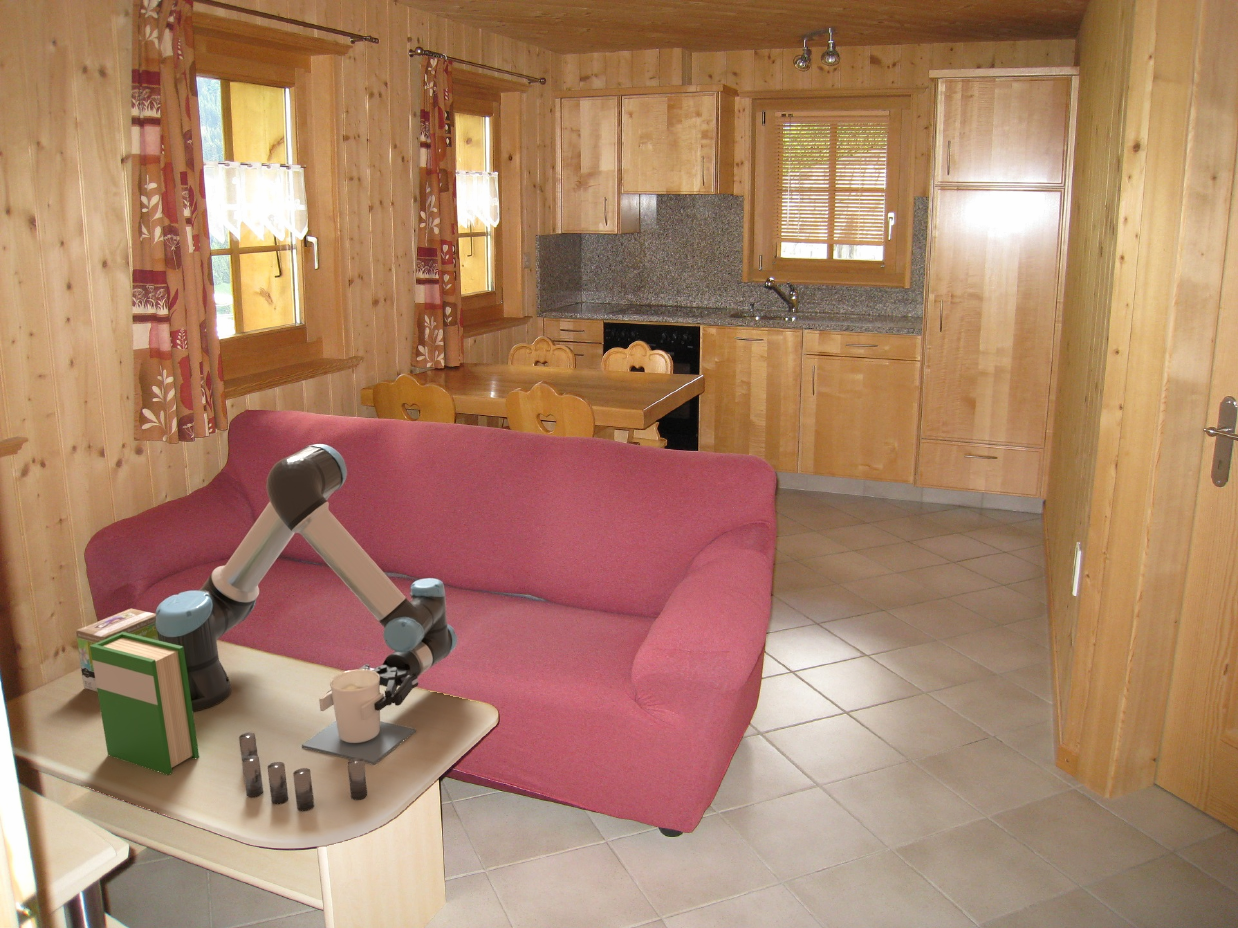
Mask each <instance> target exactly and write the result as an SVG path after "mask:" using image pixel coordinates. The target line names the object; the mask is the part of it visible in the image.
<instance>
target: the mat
mask: <svg viewBox="0 0 1238 928" xmlns="http://www.w3.org/2000/svg"><path fill="white" fill-rule="evenodd" d="M416 731H417V730H416V728H414V727H410V726H405V725H402V724H401V725H400V724H397V723H392V722H386V721H382V720H380V732H379V734H378V735H377V736H376V737H374V738H373V739H371V740H368V741H365V742H360V743H349V742H345V741H343V740H341V739H340V738H339V735H338V730H337V723H336V720H335V721H333V722H332V723H331V724H329V725H327V726H326V727H325V728H324V729H322V730H321V731H319V732H318V733H316V734H314V735H313V736H312V737H311V738H309V739H308V740H306V741H305V742H304V743H303V744H301V748H303V749H306V750H311V751H314V752H318V751H319V753H324V754H328V755H331V756H335V757H339V758H340V757H341V758H344V759H347V760H348V759H349V760H351V759H353V758H362V759H364V763H366V764H370V765H376V764H377V763H379V762H380V761H381V760H382V759H383V758H385V757H386V756H387V755H388V754H390V753H391V752H392V751H393V750H395V749H396V748H397V747H398V746H400V745H401V744H403V742H404V741H406V740H407V739H408V738H409V737H410V735H411V736H412V735H413V734H414V733H415V732H416ZM412 733H413V734H412ZM407 737H408V738H407ZM405 739H406V740H405ZM403 740H404V741H403ZM400 743H401V744H400ZM394 748H395V749H394Z"/></svg>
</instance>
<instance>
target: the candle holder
mask: <svg viewBox="0 0 1238 928" xmlns="http://www.w3.org/2000/svg"><path fill="white" fill-rule="evenodd" d="M329 685H330V690H331V691H332V697H333V704H334V705H333V709H334V714H335V715H334V716H335V721H336V723H337V730H338V735H339V738H340V739H341V740H343V741H345V742H349V743H360V742H365V741H368V740H371V739H373V738H374V737H376V736H377V735H378V734H379V732H380V721H381V710H379V711H377V712H375V713H374V714H373V715H371V716H370V717H369V718H367V719H366V720H362V718H361V708H360V707H362V706H363V705H364V704H366V703H367V702H369V701H370V700H371V699H373V698H375V697H376V696H377V695H378V694H380V693H381V687H380V686H381V685H380V676H379V674H378V673H377V672H375V671H372V670H366V669H360V668H358V669H351V670H346V671H343V672H340V673H339V674H336V675H334V676H333V677H332V679H331V680H330V681H329Z"/></svg>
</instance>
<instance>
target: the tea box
mask: <svg viewBox="0 0 1238 928" xmlns="http://www.w3.org/2000/svg"><path fill="white" fill-rule="evenodd" d="M75 632H76V633H75V634H76V641H77V648H78V649H77V650H78V656H79V664H80V668H81V669H80V671H81V678H82V684H83V688H84V689H87V690H91V691H93V692H97V686H96V680H95V674H94V667H93V661H92V655H91V649H90V646H91V645H93V644H95V643H98V642H100V641H103V640H105V639H107V638H110V637H112V636H114V635H117V634H119V633H121V632H126V633H130V634H134V635H138V636H142V637H146V638H150V639H154V640H158V641H159V639H158V632H157V629H156V613H153V612H149V611H144V610H140V609H136V608H128V609H126V610H123V611H121V612H118V613H116V614H113V615H111V616H108V617H106V618H104V619H101V620H99V621H98V620H97V621H95V622H93V623H91V624H89V625H86V626H83V627H80V628H78V629H76V630H75Z"/></svg>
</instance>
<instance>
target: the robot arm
mask: <svg viewBox="0 0 1238 928" xmlns="http://www.w3.org/2000/svg"><path fill="white" fill-rule="evenodd" d="M347 470H348V469H347V465H346V462H345V459H344V457H343V456H342V455H341V453H339V451H338V450H336V449H335V448H333V446H330V445H329V444H328V445H327V444H323V443H317V444H311V445H307V446H304V447H303V448H302V449H301V450H299V451H297V452H295V453H293V454H291V455H289V456H287V457H284V458H282V459H280V460H279V461H277V462H276V463H275V464H274V465H273V466H272V468H271V469H270V471H269V473H268V474H267V478H266V493H267V497H268V499H269V500H268V501H269V502H268V503H267V505H266V506H265V508H264V509H263V511H262V512H261V514H260V515H259V517H258V518H257V519H256V520H255V522H254V524H253V525H252V526H251V528H250V529H249V531H248V532H247V534H246V535H245V536H244V538H243V539H242V541H241V543H240V544H239V545H238V546H237V548H236V549H235V551H234V552H233V554H232V555H231V556H230V558H229V559H228V561H227V562H226V564H225V565H220V566H217V567H216V568H214V569H213V570H212V572H211V573H210V575H209V576H208V577H207V579H206V580H205V582H204V583H203V585H202V586H201V587H200V588H199V589H198V590H186V591H182V592H179V593H178V594H173V595H170V596H169V597H166V598H165V599H164V600H163V601H161V602H160V603H159V604H158V606H157V608H156V610H155V614H156V629H157V632H158V639H159V641H162V642H167V643H171V644H175V645H179V646H183V647H184V653H185V660H186V667H187V674H188V681H189V688H190V695H191V703H192V710H193V712H196V711H197V712H198V711H202V710H205V709H208V708H211V707H214V706H217V705H218V704H220V703H221V702H223V701H225V700H226V699H227V698H229V696H230V695H231V693H232V686H231V685H232V684H231V680H230V678H229V676H228V675H227V672H226V670H225V668H224V667H223V665H222V663H221V661H220V657H219V651H218V644H217V643H218V642H217V640H218V639H220V638H221V637H222V636H224V635H225V634H226V633H228V632H229V631H230V630H231V629H233V628H234V627H236V626H237V625H239V624H241V623H242V622H243V621H245V620H246V619H247V618H248V617H249V615H251V613H252V612H253V610H254V608H255V605H256V601H257V598H258V596H259V595H260V588H259V584H260V583H261V581H262V580H263V578H264V577H265V576H266V574H267V573H268V571H269V570H270V568H272V566H273V564H274V563H275V562H276V560H277V558H278V557H279V556H280V555H281V553H282V552H283V551H284V549H285V548H286V547H287V545H288V544H289V542H290V541H291V540H292V538H293V537H294V535H295V534H300V535H301V536H302V538H303V539H304V540H305V541H306V542H307V543H308V544H309V545H310V546H311V548H312V549H313V550H314V551H315V552H316V553H317V554H318V555H319V557H321V559H322V560H323V561H324V562H325V563H326V564H327V565H328V566H329V568H330V569H331V570H332V571H333V572H334V573H335V574H336V575H337V577H339V578H340V580H341V581H342V582H343V583H344V584H345V585H346V587H347V588H348V589H349V590H350V592H352V593H353V594H354V595H355V596H356V598H357V599H358V601H360V603H362V604H363V605H364V607H366V609H367V610H368V611H369V612H370V613H371V614H372V616H374V618H375V619H376V620H377V621H378V622H379V624H380V625H381V626H382V627H383V628H384V630H383V634H382V635H383V639H384V642H385V644H386V646H387V647H388V648H389V649H390V650H392V651H393V652H392V653H390V654H389V655H387V656H386V658H385V659H384V661H383V663H382V664H381V665H379V666H376V667H375V668H372V667H370V664H368V663H366V664H364V665H362V666H361V667H359V669H366V670H372V671H375V672H377V673H378V674H379V676H380V686H383V687H386V688H385V690H384V693H382V692H380V694H378V695H377V696H376V697H375V698H373V699H371V700H370V701H369V702H367V703H366V704H364V705H363V706H362V707H360V708H361V718H362V720H366V719H367V718H369V717H370V716H371V715H373V714H374V713H375V712H377V711H379V710H380V711H382V710H383V709H384V708H386V707H387V706H392V705H393V704H394V705H395V706H400V705H402V703H403V702H404V701H405V699H406V698H407V697H408V696H409V694H410V693H411V691H412V690H413V689H415V688H416V687H418V686H419V678H418V677H420V676H421V675H422V674H424V673H425V672H426V671H428V670H429V669H430V668H432V667H433V666H435V665H436V664H438V663H439V662H440V661H442V660H444V659H446V658H447V657H448V656H449V655H450V654H451V653H452V652H453V651H454V650H455V648H456V647H457V644H458V635H457V633H456V632H455V628H454V627H452V626H451V625H450V624H448V620H447V618H448V617H447V616H448V615H447V604H446V597H447V595H446V590H445V585H444V582H443V581H442V580H440V579H438V578H432V577H428V578H420V579H418V580H415V581H414V582H413V583H412V584H411V585H410V597H411V599H410V600H408V598H407V597H406V596H405V595H404V594H403V593H402V592H401V590H400V589H399V588H398V587H397V585H395V584H394V582H393V581H392V580H391V579H390V578H389V577H388V575H386V573H384V571H383V570H382V569H381V567H379V566H378V565H377V563H376V562H375V561H374V560H373V558H371V557H370V555H369V554H368V553H367V552H366V550H364V549H363V548H362V546H361V545H360V544H359V543H358V541H357V540H355V538H354V537H353V536H352V534H350V533H349V531H348V530H347V529H346V528H345V527H344V526H343V524H341V522H340V521H339V520H338V519H337V518H336V517H335V515H334V514H333V513H332V512H331V511H330V510H329V505H330V503H329V502H328V499H329V498H330V497H331V495H333V494H334V492H337V491H339V490H340V489H341V488H342V486H343V485H344V484H345V482H346V479H347V478H348V477H347V476H348V471H347ZM398 686H399V687H398ZM318 702H319V711H320V712H325V711H326V710H328V709H329V708H330V707H333V706H334V704H333V697H332V691H331V689H330V690H328V691H327V692H326V694H323V695H322V696H321V697H319V698H318Z"/></svg>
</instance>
